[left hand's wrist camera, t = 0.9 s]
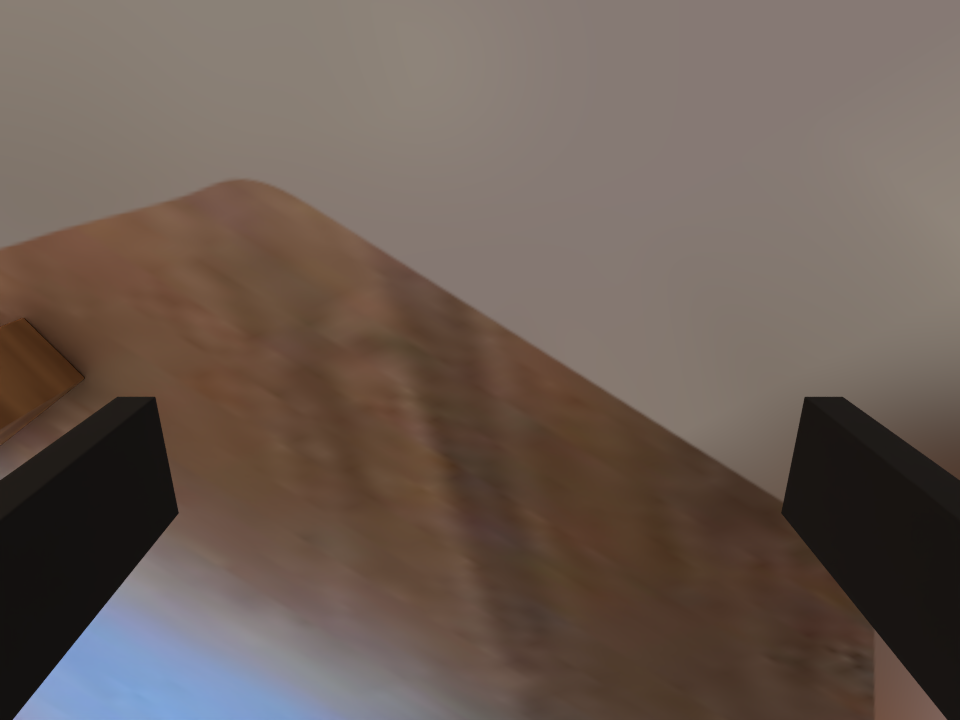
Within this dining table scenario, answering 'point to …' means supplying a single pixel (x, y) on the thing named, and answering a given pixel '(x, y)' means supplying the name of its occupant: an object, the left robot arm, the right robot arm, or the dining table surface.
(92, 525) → the left robot arm
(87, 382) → the dining table surface
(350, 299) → the dining table surface
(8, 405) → the post
